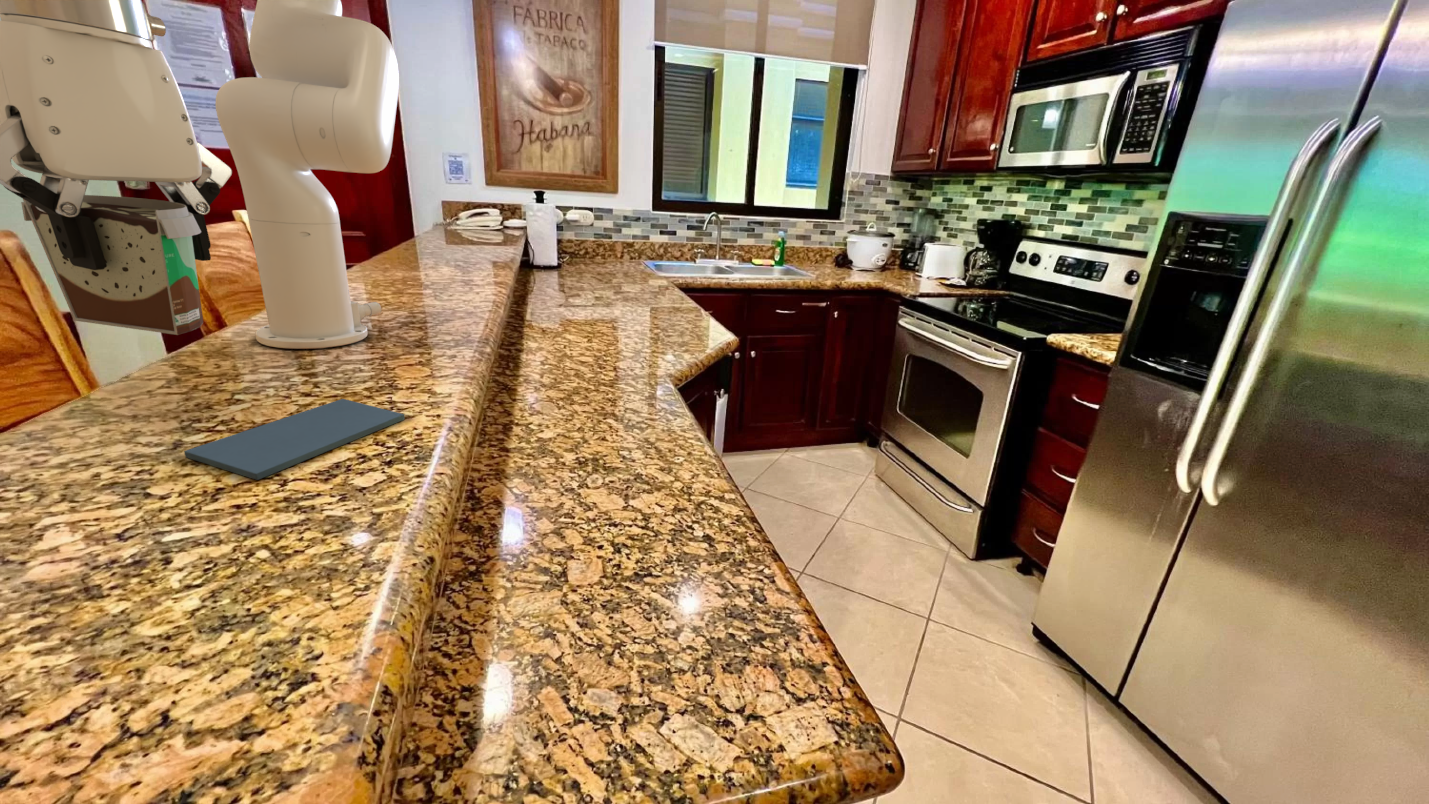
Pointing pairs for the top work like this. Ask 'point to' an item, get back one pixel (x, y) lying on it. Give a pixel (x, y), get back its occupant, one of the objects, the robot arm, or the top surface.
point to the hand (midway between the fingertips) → (145, 260)
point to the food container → (131, 265)
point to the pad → (293, 438)
